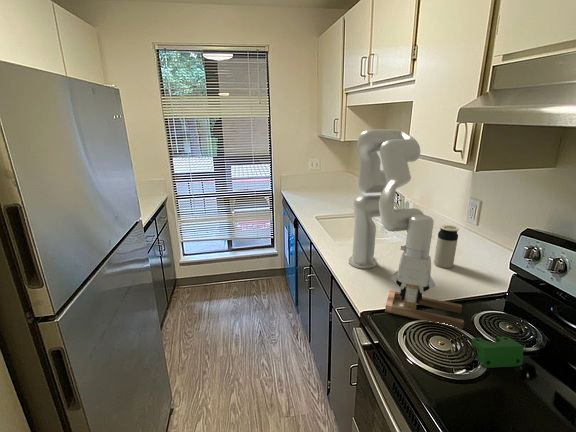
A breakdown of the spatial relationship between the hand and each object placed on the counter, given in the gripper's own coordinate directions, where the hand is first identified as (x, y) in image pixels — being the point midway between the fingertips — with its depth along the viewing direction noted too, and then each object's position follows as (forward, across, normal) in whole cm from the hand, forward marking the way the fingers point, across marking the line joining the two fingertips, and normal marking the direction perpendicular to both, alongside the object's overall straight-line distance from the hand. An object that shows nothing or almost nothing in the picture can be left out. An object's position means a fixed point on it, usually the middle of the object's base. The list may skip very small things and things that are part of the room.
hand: (410, 299), depth 114 cm
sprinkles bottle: (+4, 0, 0) cm, 4 cm away
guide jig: (+4, +5, 0) cm, 6 cm away
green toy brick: (+4, +24, -17) cm, 29 cm away
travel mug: (+4, +12, +43) cm, 44 cm away
